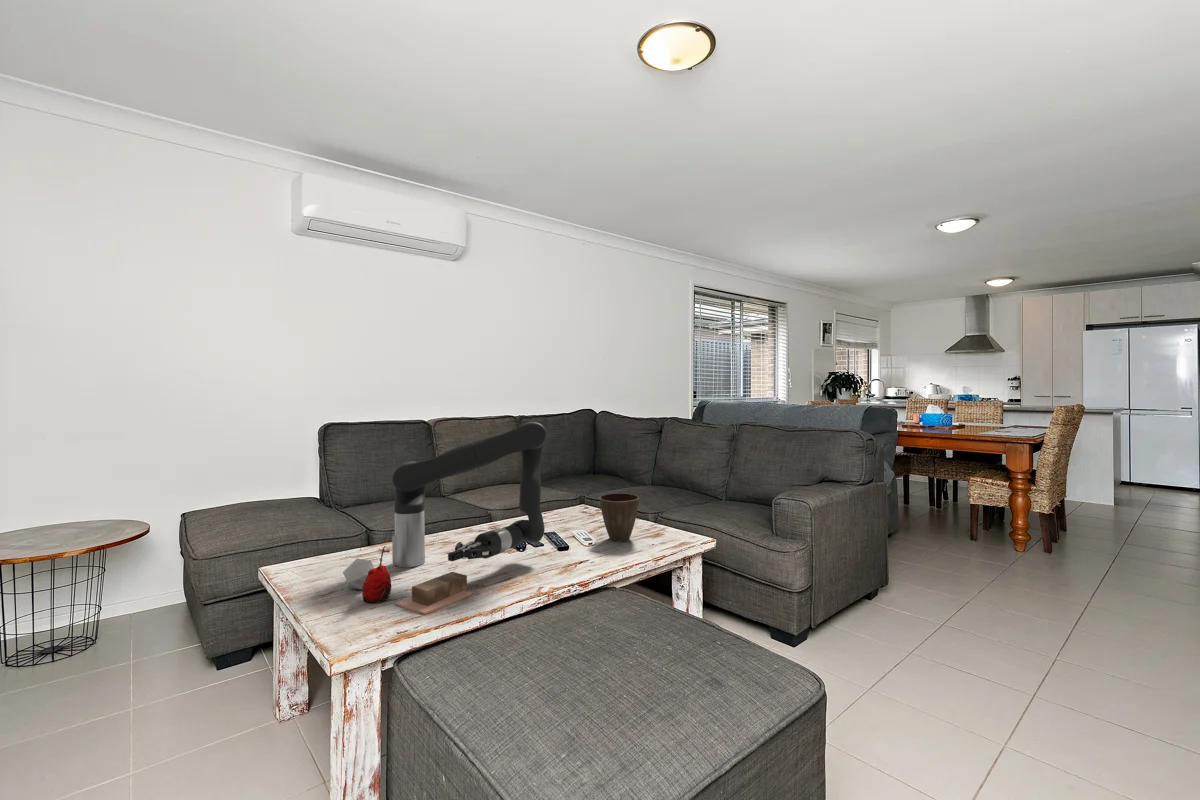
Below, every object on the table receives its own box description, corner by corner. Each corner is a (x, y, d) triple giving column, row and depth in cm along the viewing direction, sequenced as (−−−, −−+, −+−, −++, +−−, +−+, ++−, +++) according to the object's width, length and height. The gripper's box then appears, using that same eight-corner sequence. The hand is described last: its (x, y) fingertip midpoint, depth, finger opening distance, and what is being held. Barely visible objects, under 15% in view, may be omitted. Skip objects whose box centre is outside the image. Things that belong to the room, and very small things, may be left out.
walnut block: (452, 571, 159) (411, 586, 147) (466, 575, 156) (426, 591, 144) (452, 585, 159) (412, 601, 147) (467, 589, 156) (427, 606, 144)
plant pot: (626, 547, 197) (626, 502, 197) (591, 541, 206) (591, 498, 205) (646, 537, 210) (646, 495, 210) (612, 532, 218) (612, 491, 218)
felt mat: (442, 586, 160) (442, 584, 160) (471, 594, 153) (471, 592, 153) (395, 604, 146) (395, 602, 146) (425, 614, 140) (425, 612, 140)
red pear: (380, 592, 155) (379, 539, 154) (397, 597, 152) (397, 543, 151) (356, 602, 148) (356, 547, 148) (375, 607, 145) (374, 550, 144)
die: (347, 597, 153) (369, 569, 154) (331, 577, 157) (352, 549, 158) (367, 598, 160) (388, 570, 161) (351, 578, 164) (372, 552, 165)
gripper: (477, 527, 172) (433, 540, 158) (509, 533, 165) (466, 547, 150) (478, 551, 172) (434, 566, 158) (509, 558, 165) (466, 575, 151)
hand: (449, 557), depth 154 cm, fingers closed
